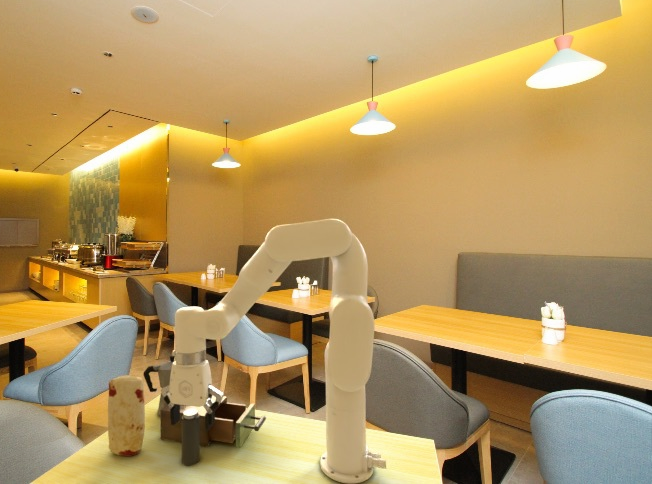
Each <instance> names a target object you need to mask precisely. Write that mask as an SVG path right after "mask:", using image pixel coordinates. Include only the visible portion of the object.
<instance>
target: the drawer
mask: <svg viewBox="0 0 652 484" xmlns="http://www.w3.org/2000/svg"><path fill="white" fill-rule="evenodd" d="M266 420H267V417H266V415H262V416H256V404H255V403H250V404H249V406H248V407H247V405H246V404H243V403H234V402H228V401H227V402H224V403H223V404H222V405H221V406H220V407H219V408H218V409H217V410H216V411H215V422H214V424H213V425H212V426H211V428H210V429H209V440H213V441H215V442H220V443H228V444H233V443H234V442H235V447H236V448H242V445H243V444H244V443H245V441H246V440H247V439H248V437H249V435H251V432H253V430H254V431H255V432H259V430H260V429H261V428H262V426H263V425H264V423H265V421H266ZM256 421H257V422H256Z"/></svg>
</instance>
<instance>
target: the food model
mask: <svg viewBox="0 0 652 484" xmlns="http://www.w3.org/2000/svg"><path fill="white" fill-rule="evenodd" d="M107 398H108V399H107V435H108V436H107V437H108V450H109V451H110V452H111V453H113V454H115V455H117V456H123V457H125V456H126V457H130V456H135V455H138V453H139V452H140V451H141V450H142V449H143V444H144V440H145V432H146V405H145V389H144V379H143V377H141V376H136V375H132V374H125V375H119V376H117V377H115V378H113V379H110V380H109V381H108V396H107Z"/></svg>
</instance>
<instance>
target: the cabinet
mask: <svg viewBox="0 0 652 484" xmlns="http://www.w3.org/2000/svg"><path fill="white" fill-rule="evenodd" d="M211 399H212V400H213V401H214V402H215V400H216V397H215V396H213V395H212V398H211ZM224 402H228V397H227V396H225V395H224V397H223V399H222V401H221V403H220V404H219V405H218V406H217V407H216V409H215V410H214V411H216V410H217V409H218V408H219V407H220V406H221V405H222V404H223V403H224ZM207 403H208V402H207ZM209 406H210V405H209ZM188 409H196V410H197V411H198V413H199V417H200V447H206V448H208V447H209V446H210V444H212V442H213V441H214V440H209V430H206V429H205V414H206V413H207V411H206V410H205V408H204V407H203V406H201V407H196V406H187V405H180V420H179V421H178V422H177V423H175V424H174V425H171V419H170V409H169V408H168V404H167V405H166V406H165V407H163V408H162V409H161V410H160V415H159V417H160V419H159V420H160V430H159V431H160V440H164V441H171V442H176V443H182V416H183V412H184V411H185V410H188Z"/></svg>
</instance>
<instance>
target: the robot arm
mask: <svg viewBox="0 0 652 484" xmlns="http://www.w3.org/2000/svg"><path fill="white" fill-rule="evenodd" d="M323 258H330V261H331V263H332V281H331V282H332V283H331V295H330V303H329V309H328V316H329V338H328V342H327V344H326V346H325V349H324V374H325V375H324V376H325V433H326V436H325V437H326V438H325V439H326V442H325V443H326V451H324V452H323V453H322V455H321V457H320V462H319V463H320V469H321V471H322V472H323V473H324V474H325V476H327V477H328V478H330V479H331V480H333V481H336V482H339V483H342V484H361V483H363V482H366V481H367V480H369V479H370V478H371V477H372V476H373V473H374V468H378V469H383V470H387V459H386V458H382V454H381V453H378V452H372V451H371V450H369V444H367V415H366V414H367V413H366V412H367V411H366V409H367V407H366V406H367V405H366V404H367V401H366V399H367V397H366V395H367V394H366V384H367V383H368V381H369V379H370V377H371V373H372V368H373V367H372V366H373V354H374V341H375V317H374V316H375V315H374V312H373V309H372V307H371V306H370V305H369V304H368V287H369V286H368V284H369V283H368V282H369V281H368V279H369V265H368V257H367V253H366V251H365V248H364V246H363V245H362V242H361V241H360V240H359V239H358V237H357V236H356V235H355V234H354V233H353V232H352V230H351V228H350V226H348V224H347V223H346V222H344V221H342V220H341V219H337V218H327V219H325V218H324V219H317V220H311V221H304V222H296V223H288V224H279V225H276V226H274V227H272V228H271V229H270V230H269V231H268V232H267V234H266V236H265V239H264V241H263V242H262V244H261V245H260V246H259V248H258V249H257V250H256V251H255V252H254V254H253V255H252V256H251V257H250V258H249V259H248V261H247V262H246V263H245V264H244V265H243V266H242V268H241V269H240V271H239V274H238V278H237V280H236V281H235V283H234V284H233V285H232V287H231V288H230V290H229V291H228V292H227V293H226V294H225V295H224V297H223V298H222V299H221V300H220V301H219V302H218V304H217V305H215V306H213V307H212V308H210V309H206V310H204V309H205V308H203V307H200V306H184V307H180V308H178V309H177V310H176V311H175V313H174V350H172V352H171V356H175V358H174V361H175V362H173V364H172V369H171V375H170V385H168V386H166V387H164V388H161V389H160V394H161V393H162V395H163V397H164V401H165V402H166V403H167V404H168V408H169V409H170V419H171V425H174V424H175V423H177V422H178V421H179V420H180V405H187V406H196V407H201V406H203V407H204V408H205V410H206V411H207V413H206V414H205V429H206V430H209V429H210V428H211V426H212V425H213V424H214V422H215V411H214V410H215V409H216V407H217V406H218V405H219V404H220V403H221V401H222V399H223V397H224V396H225V394H224V392H222V391H221V390H219V389H217V388H216V387H215V386H213V380H212V372H211V367H210V362H209V360H207V340H212V341H218V340H219V341H220V340H222V339H224V338H226V337H227V336H228V335H229V334H230V333H231V332H232V330H233V329H234V328H235V327H236V326H237V325H238V324H239V322H240V321H241V320H242V319H243V318H244V316H245V315H246V314H247V313H248V312H249V310H250V309H251V308H252V307H253V306H254V304H256V302H257V301H258V300H259V299H260V298H261V297H263V296H264V295H265V294H266V293H267V292H268V291H269V290H270V289H271V287H272V286H273V285H274V283H275V282H276V281H277V280H278V279H279V278H280V276H281V275H282V274H283V273H284V272H285V270H286V269H287V268H288V267H289V266H290V265H291V264H292V262H297V261H298V262H300V261H307V260H316V259H323ZM212 395H213V396H215V397H216V400H215V402H214V401H213V400H212V399H211V398H212ZM207 402H208V403H207ZM209 405H210V406H209Z"/></svg>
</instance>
